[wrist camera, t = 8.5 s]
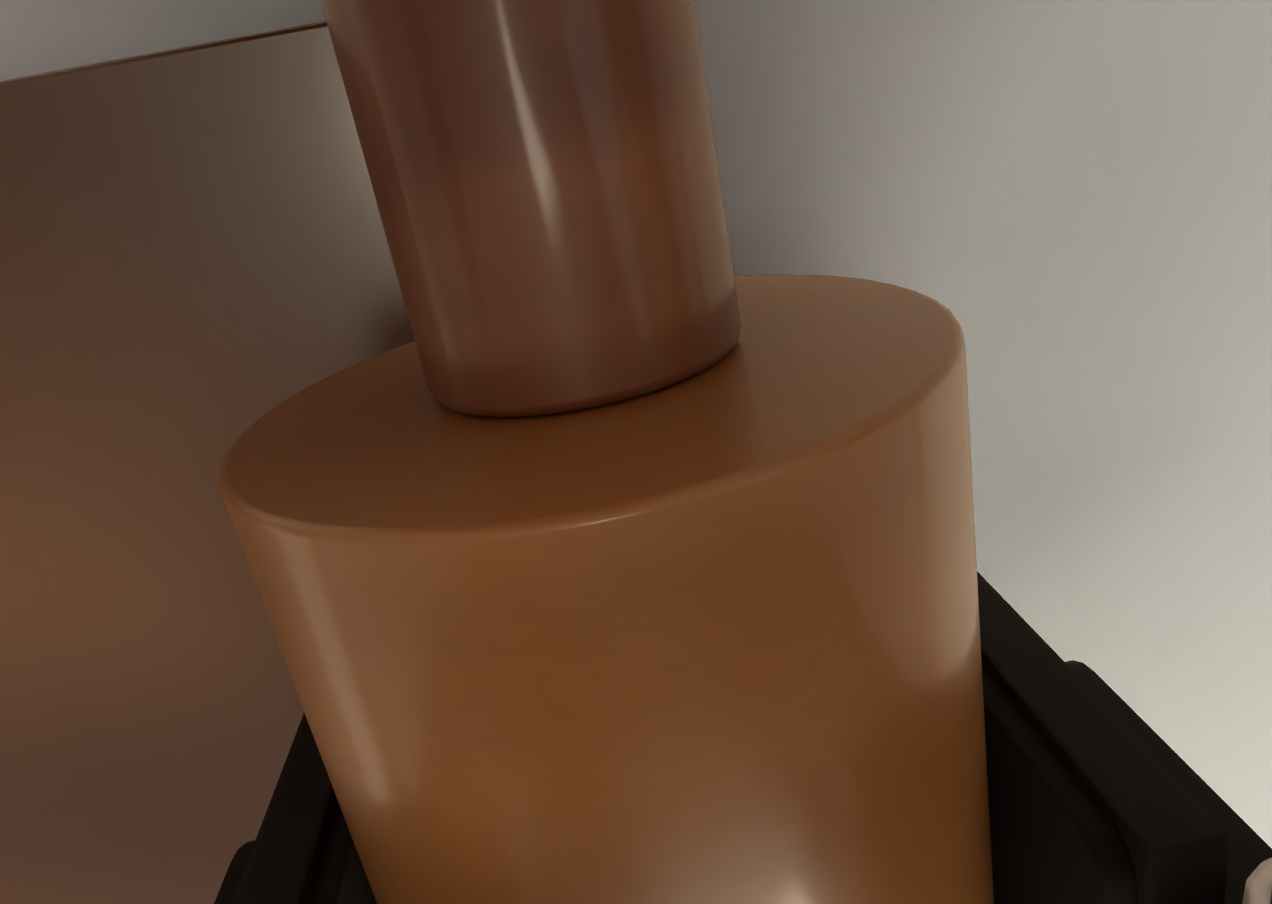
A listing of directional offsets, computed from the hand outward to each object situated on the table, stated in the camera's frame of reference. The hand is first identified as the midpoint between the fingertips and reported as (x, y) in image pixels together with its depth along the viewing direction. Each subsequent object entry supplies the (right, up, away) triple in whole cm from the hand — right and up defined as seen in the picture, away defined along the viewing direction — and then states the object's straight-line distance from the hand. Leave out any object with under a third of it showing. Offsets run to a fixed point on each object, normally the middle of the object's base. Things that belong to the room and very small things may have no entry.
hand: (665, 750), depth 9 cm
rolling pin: (0, 0, -1) cm, 1 cm away
